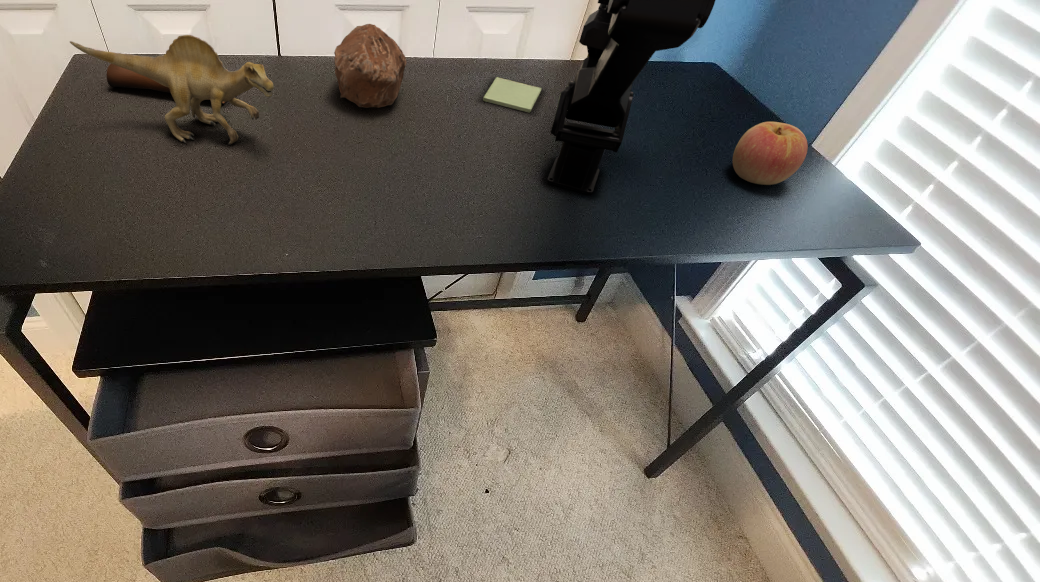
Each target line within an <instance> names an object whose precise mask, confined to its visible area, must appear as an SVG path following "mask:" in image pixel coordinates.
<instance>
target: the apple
mask: <svg viewBox="0 0 1040 582" xmlns="http://www.w3.org/2000/svg"><path fill="white" fill-rule="evenodd" d="M808 149H809V148H808V140H807V137H806V136H805V133H803V131H802V130H801V129H800V128H798V127H797V126H794V125H792V124H789V123H784V122H778V121H764V122H760V123H757V124H756V125H753V126H752V127H750V128H749V129H747V131H746V132H744V133H743V135H742V136H741V137H740V139H739V140H738V142H737V144H736V146H735V148H734V150H733V154H732V167H733V170H734V172H735V174H736V175H737V176H738V177H739V178H741V179H743V180H744V181H747V183H752V184H755V185H762V186H763V185H764V186H771V185H777V184H779V183H782V182H784V181H786V180H788V179H789V178H790V177H792V176H793V175H794V174H795V173H797V171H798V170H799V169H800V168H801V166H802V165H803V163H804V161H805V160H806V157H807V154H808Z"/></svg>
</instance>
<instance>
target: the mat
mask: <svg viewBox="0 0 1040 582" xmlns="http://www.w3.org/2000/svg"><path fill="white" fill-rule="evenodd" d="M542 90H543V89H542V87H539V86H535V85H530V84H526V83H522V82H518V81H514V80H510V79H505V78H502V77H498V76H496V77H495V79H494V80H493V82H492V84H491V85H490V87H489V88H488V89H487V91H486V93H485V94H484V96H483V99H482V101H483V102H486V103H489V104H490V103H491V104H493V105H497V106H501V107H505V108H509V109H513V110H517V111H521V112H525V113H528V114H530V113H531V112H532V110H533V108H534V106H535V104H536V102H537V100H538V98H539V97H540V94H541V92H542Z"/></svg>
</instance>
